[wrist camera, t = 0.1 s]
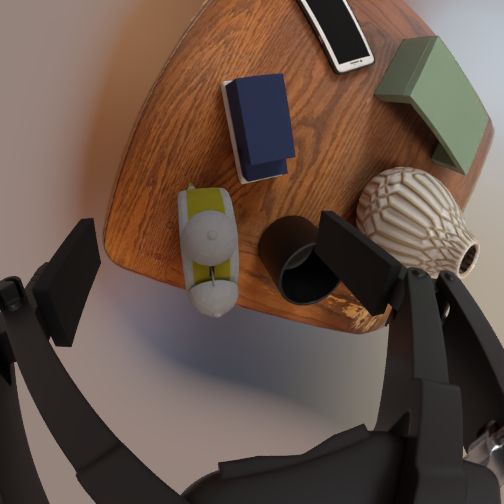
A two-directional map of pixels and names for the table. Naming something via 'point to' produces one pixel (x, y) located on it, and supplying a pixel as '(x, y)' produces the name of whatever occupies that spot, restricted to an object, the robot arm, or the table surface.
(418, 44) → the sage green footstool
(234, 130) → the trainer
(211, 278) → the alarm clock
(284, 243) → the mug
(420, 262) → the vase
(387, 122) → the table surface
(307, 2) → the cell phone
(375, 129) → the table surface
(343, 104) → the table surface
